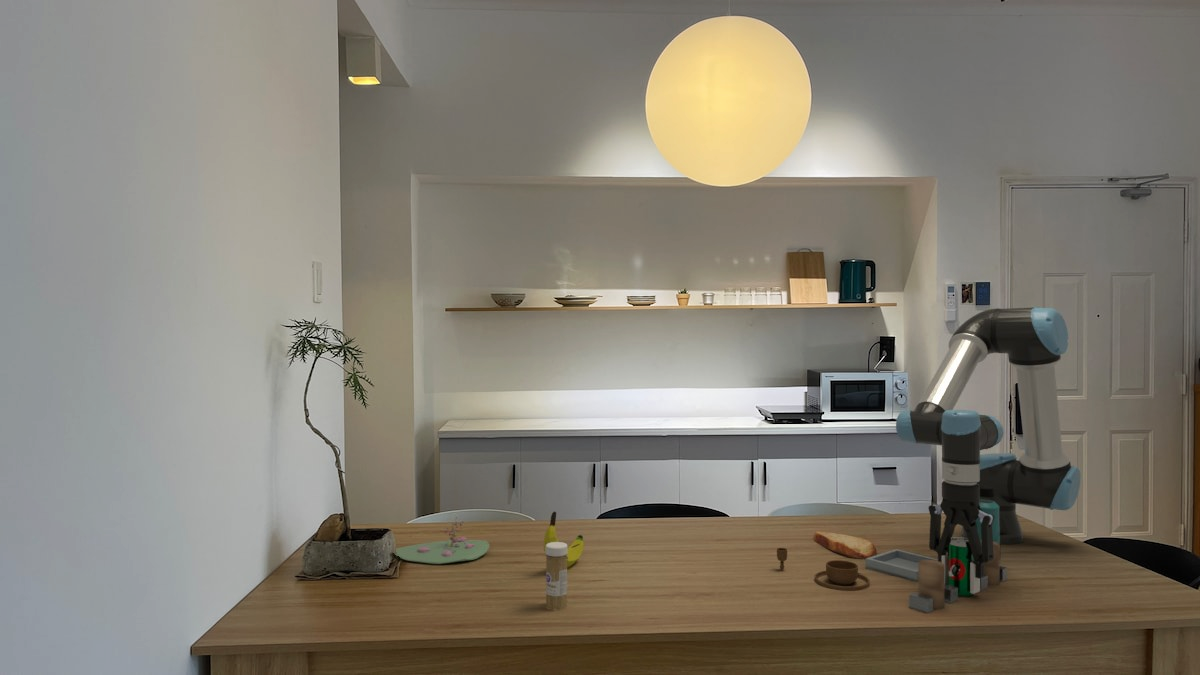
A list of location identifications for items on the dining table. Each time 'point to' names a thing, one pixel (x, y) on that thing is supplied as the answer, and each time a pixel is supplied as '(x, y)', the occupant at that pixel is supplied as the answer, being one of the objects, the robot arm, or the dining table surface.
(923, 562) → the dowel near
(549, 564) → the sprinkles bottle
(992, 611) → the dining table surface
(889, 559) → the tray
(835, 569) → the place setting
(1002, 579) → the clip rack
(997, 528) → the beverage bottle
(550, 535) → the banana
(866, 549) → the bread slice
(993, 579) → the dowel far
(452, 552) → the plant
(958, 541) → the soda can
